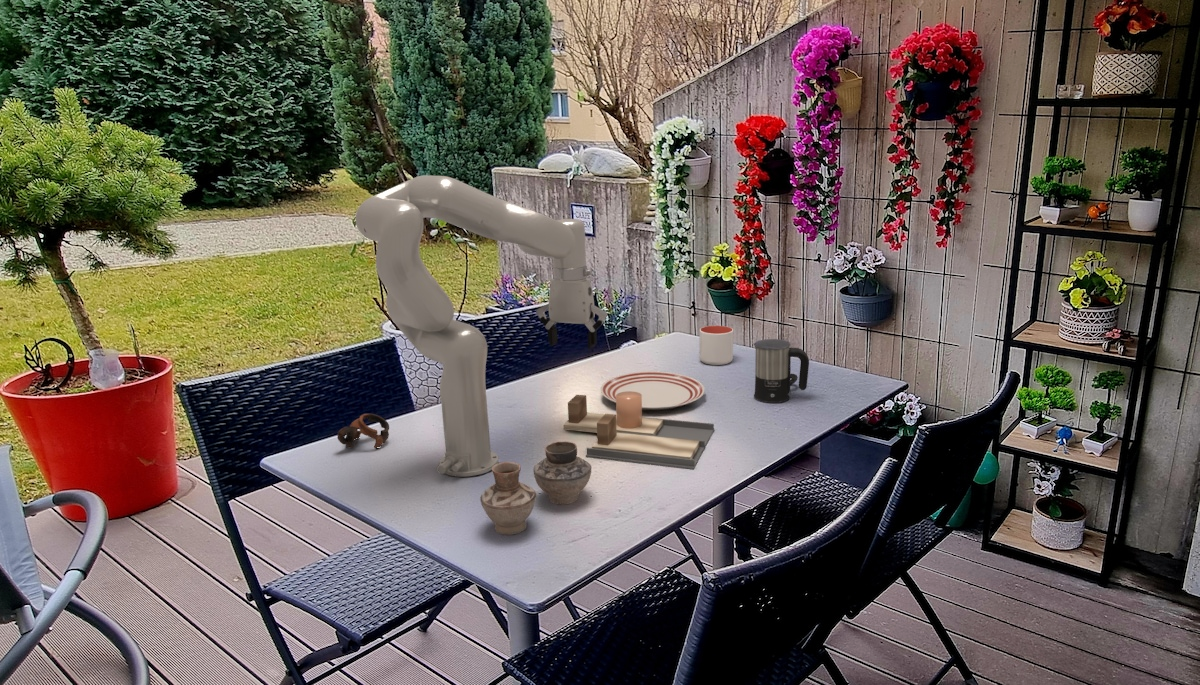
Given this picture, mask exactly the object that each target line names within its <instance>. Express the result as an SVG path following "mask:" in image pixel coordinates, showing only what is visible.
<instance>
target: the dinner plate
mask: <svg viewBox="0 0 1200 685" xmlns="http://www.w3.org/2000/svg"><path fill="white" fill-rule="evenodd" d="M705 389H706V388H705V386H704V385H703V383H701V382H700V381H699V380H697V379H695V378H693V377H691V376H687V375H684V374H680V373H676V372H670V371H658V370H656V371H653V370H651V371H647V370H646V371H644V370H643V371H635V372H628V373H623V374H619V375H616V376H614V377H612V378H609V379H607V380H606V381H605V382H603V383H602V384H601V386H600V393H601V395H602V396H603V397H604V398H605V399H607V400H608V401H610V402H612V403H614V404H616V395H617V394H618V393H621V392H627V391H632V392H638V393H640V394H641V395H642V411H644V410H645V411H662V409H663V410H668V409H669V408H670V409H674V408H678V407H679V408H680V407H682V406H684V405H685V406H686V405H689V404H692V403H694V402H696V401H698V400H700V399H701V398H702V397H703V396H704V395H705V393H706V392H705V391H706V390H705Z"/></svg>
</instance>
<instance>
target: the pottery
mask: <svg viewBox="0 0 1200 685" xmlns="http://www.w3.org/2000/svg"><path fill="white" fill-rule="evenodd" d="M544 451H545V456H546V457H545V458H543V459H541V460H539V461H538V462H537V463H536V464H535V465H534V467H533V476H534V479H535V482H536V484H537V486H538V487H539V488H540V489H541V491H542V492H544V493H545V494H546V495H548V498H549V500H550V502H551V503H553V504H556V505H569V504H572V502H573V503H575V502H576V501H577V500H578V498H579V494H580V492H582V491H583V490H584V489H585V487H586V486H587V485H588V483H589V481H590V479H591V476H592V475H591V474H592V465H591V463H590V462H588V461H587V460H585V459H583V458H582V457H580V456H578V445H577V443H575V442H572V441H567V440H565V441H563V440H562V441H559V440H558V441H553V442H550V443H549V444H547V445H546V446H545V447H544ZM521 467H522V466H521V465H520V464H519V463H517V462H513V461H503V462H498V464H496V465H494V466H493V467H492V470H491V471H492V475H493V477H494V482H495V483H494V484H492V485H491V486H489V487H488V488H486V489H485V490H484V491H483V492H482V493H481V495H480V499H479V500H480V503H481V506H482V509H483V510H484V512H485V514H486V515H487V517H488V518H489V520H490V521H491V522H493V523H494V529H495V532H497V533H498V534H500V535H508V536H510V535H516V533H517V534H520V533H521V531H522V532H523V531H525V530H526V529H527V519H528V518H529V516H530V515H531V513H532V511H533V509H534V506H535V502H536V498H537V493H536V491H535V490H534V488H532V487H531V486H529V485H528V484H525V483H523V482H521V481H520V480H519V479H520V473H521ZM574 501H575V502H574Z"/></svg>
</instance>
